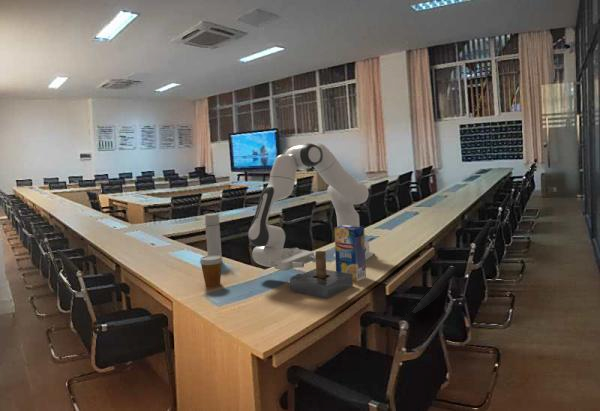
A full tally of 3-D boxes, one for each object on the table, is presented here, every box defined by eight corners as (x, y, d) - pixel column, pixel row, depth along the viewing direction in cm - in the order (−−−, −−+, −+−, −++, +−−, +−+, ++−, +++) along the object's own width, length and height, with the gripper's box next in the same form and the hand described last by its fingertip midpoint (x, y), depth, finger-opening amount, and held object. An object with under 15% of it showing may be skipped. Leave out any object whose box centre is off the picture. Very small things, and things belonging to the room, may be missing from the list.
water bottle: (225, 261, 231) (221, 214, 228) (210, 264, 227) (207, 216, 223) (217, 258, 239) (214, 212, 235) (203, 261, 234) (200, 214, 231)
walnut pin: (320, 284, 182) (319, 250, 181) (328, 285, 180) (327, 251, 178) (314, 286, 179) (313, 252, 177) (323, 288, 177) (321, 253, 175)
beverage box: (345, 273, 199) (344, 225, 197) (366, 277, 192) (364, 227, 189) (336, 277, 195) (334, 227, 192) (356, 281, 187) (354, 229, 184)
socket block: (316, 279, 192) (316, 268, 192) (352, 285, 181) (352, 273, 180) (290, 291, 178) (289, 279, 178) (327, 298, 167) (327, 285, 166)
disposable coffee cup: (199, 283, 194) (197, 256, 193) (221, 280, 198) (219, 253, 197) (204, 289, 186) (201, 261, 184) (226, 285, 189) (224, 258, 188)
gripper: (267, 256, 182) (293, 260, 173) (298, 246, 198) (323, 250, 189) (268, 271, 182) (294, 276, 174) (298, 260, 198) (324, 264, 190)
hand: (309, 262), depth 182 cm, fingers open, 8 cm apart
